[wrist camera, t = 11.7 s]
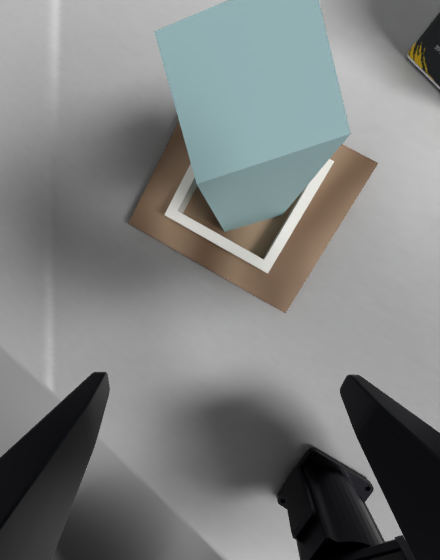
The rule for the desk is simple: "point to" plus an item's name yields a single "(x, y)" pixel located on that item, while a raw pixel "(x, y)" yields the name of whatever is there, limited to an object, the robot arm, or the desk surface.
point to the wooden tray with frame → (255, 237)
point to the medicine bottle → (428, 52)
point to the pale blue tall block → (254, 103)
